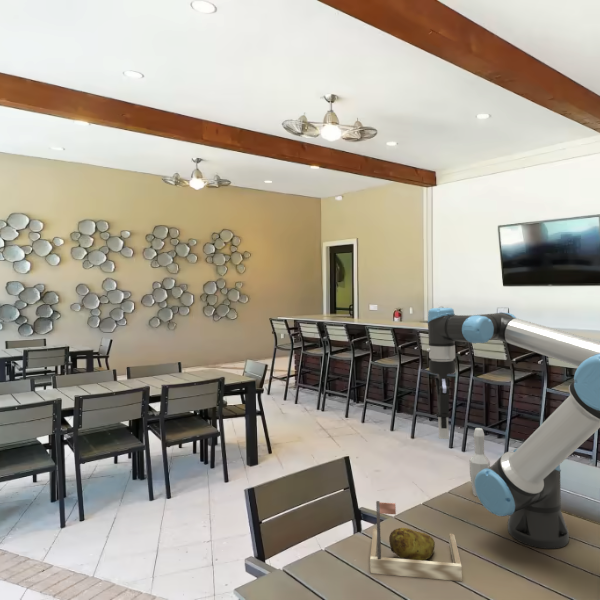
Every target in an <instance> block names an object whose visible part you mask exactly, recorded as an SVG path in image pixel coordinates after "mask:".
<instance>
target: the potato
mask: <svg viewBox="0 0 600 600" xmlns="http://www.w3.org/2000/svg"><path fill="white" fill-rule="evenodd" d="M388 542H389V545H390V551H391V552H392V553H393V554H396V556H397V557H399V559H410V560H422V561H427V559H430V557H431V556H432V555H433V553H434V551H435V546H436V545H435V544H436V543H435V539H434V538H433V537H432V536H430V535H429V534H428V533H426V532H425V533H424V532H421V531H416V530H413V529H410V528H408V527H399V528H395V529H394V530H392V531H391V532H390V534H389V540H388Z"/></svg>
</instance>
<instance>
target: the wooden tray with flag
mask: <svg viewBox="0 0 600 600" xmlns="http://www.w3.org/2000/svg"><path fill="white" fill-rule="evenodd" d="M375 503H376V504H375V506H376V508H375V509H376V528H372V537H371V546H370V548H371V549H370V558H369V560H370V561H369V562H370V563H369V566H370V568H369V569H370V574H378V575H379V574H380V575H387V576H388V575H389V576H399V577H400V576H401V577H409V578H421V579H432V580H434V579H435V580H443V581H444V580H445V581H455V582H463V570H462V569H463V568H462V563H461V558H460V554H459V550H458V546H457V545H458V544H457V541H456V536H455V534H453V533H449V550H450V555H451V560H452V562H443V561H431V560H423V561H422V560H410V559H404V558H397V557H396V558H394V557H385V556H383V557H382V543H381V515H382V514H384V515H396V513H397V510H396V505H397V504H396V502H395V503H393V502H380V500H376V502H375Z"/></svg>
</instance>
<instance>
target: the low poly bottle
mask: <svg viewBox="0 0 600 600" xmlns="http://www.w3.org/2000/svg"><path fill="white" fill-rule="evenodd" d="M473 441H474V454H473V455H472V456H471V458H470V459H469V476H470V483H471V489H472V495H474V496H475V497H477V498H478V496H477V494H476V488H475V477H476V475H477V474H478V473H479V472H480V471H481V470H482V469H485V468H489V467H491V462H490V460H489V458H488V457H487V456H486V454H485V433H484V430H483V428H482V427H481V428H480V427H476V428H475V429H474V432H473Z"/></svg>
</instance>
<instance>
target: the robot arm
mask: <svg viewBox="0 0 600 600" xmlns="http://www.w3.org/2000/svg"><path fill="white" fill-rule="evenodd" d="M427 314H428V315H427V330H428V331H427V333H428V347H427V348H426V352H428V358H429V360H428V371H429V372H430V373H431V374H434V375H437V377H435V378H434V381H435V382H434V383H435V390H436V396H437V397H436V398H437V414H436V418H438V421H437V423H438V438H439V439H440V440H449V438H450V437H449V435H450V434H449V433H450V432H449V417H450V409H449V408H450V407H449V406H450V404H449V403H450V402H449V401H450V399H449V397H450V385H451V380H450V378H448V375H452V374H455V373H456V361H455V359H456V345H455V344H456V343H455V342H464V343H471V344H486V343H488V342H489V341H492V340H497V341H501V342H503V343H507V344H510V345H513V346H516V347H519V348H522V349H525V350H528V351H532V352H534V353H537V354H539V355H542V356H544V357H545V356H546V357H547V358H548V357H549V358H551V359H555V360H558V361H560V362H564V363H566V364H569V365H572V366H575V367H577V368H576V370H575V372H574V376H573V379H574V380H572V382H571V383H570V384H569V386H568V391H569V396H568V397H567V398H565V400H564V401H563V402H562V403H561V404H560V405H559V406H558V407H557V408H556V409H555V410H553V412H552V413H551V414H550V415H549V416H548V417H547V418H546V419H545V421H543V422H542V423H541V424H540V426H539V427H538V428H536V429H535V431H533V433H532V434H530V435H529V437H528V438H527V439H526V440H525V441H524V442H523V443H522V444H521V445H520V446H519V447H518V448H516V449H514V450H513V451H506V452H505V453H503V454H502V455H500V457H499V458H498V459H497V460H496V461H495V462H494V463H493V464H492V465H490V467H489V468H485V469H482V470H481V471H480V472H479V473H478V474H477V475H476V477H475V488H476V494H477V496H478V497H477V496H476V497H477V498H478V500H479V502H480V503H481V505H483V507H484V508H485V509H486V510H487V511H488V512H489V513H491V514H493V515H496V516H498V517H505V516H509V517H508V521H507V531H508V533H509V535H510V536H511V537H512V538H513V539H515V540H516V541H518V542H520V543H522V544H525V545H527V546H531V547H535V548H538V549H539V548H540V549H553V550H554V549H559V548H564V547H565V546H567V545H568V543H569V541H570V539H569V537H570V536H569V530H568V526H567V524H566V521H565V518H564V516H563V513H562V507H561V506H562V505H561V500H562V499H561V498H562V496H561V491H562V490H561V471H562V469H561V466H560V465H561V464H562V463H563V462H564V461H565V460H566V459H567V458H568V457H570V456H571V455H572V454H573V453H574V452H575V451H576V450H577V449H578V448H579V447H581V445H583V444H584V442H586V441H587V440H588V439H589V438H590V437H591V436H593V434H595V432H597V431H598V430H599V429H600V341H599V340H595V339H591V338H589V337H585V336H580V335H577V334H575V333H571V332H566V331H563V330H560V329H556V328H552V327H550V326H545V325H542V324H539V323H535V322H531V321H528V320H523V319H520V318H517V317H516V316H515V315H514V314H512V313H509V312H502V311H501V312H495V313H485V314H482V313H481V314H473V315H472V314H469V315H468V314H467V315H465V314H463V315H462V314H461V315H458V314H455V310H454V308H452V307H433V308H430V309H428V313H427Z"/></svg>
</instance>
